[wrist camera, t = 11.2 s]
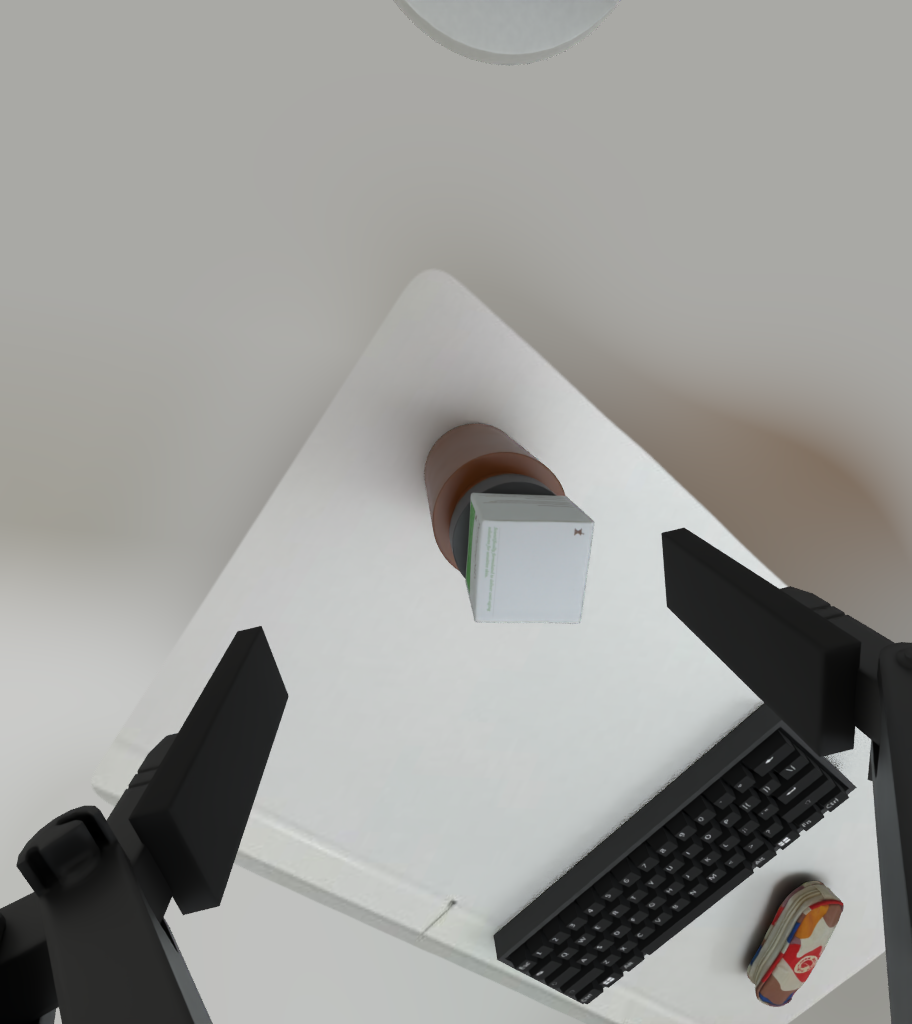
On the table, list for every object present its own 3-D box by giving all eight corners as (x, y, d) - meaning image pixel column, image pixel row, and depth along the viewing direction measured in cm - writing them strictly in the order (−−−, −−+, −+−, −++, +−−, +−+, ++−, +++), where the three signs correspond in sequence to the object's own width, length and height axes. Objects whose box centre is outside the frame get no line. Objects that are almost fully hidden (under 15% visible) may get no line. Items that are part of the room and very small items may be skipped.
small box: (468, 490, 28) (481, 518, 23) (568, 492, 28) (600, 521, 24) (461, 583, 29) (472, 627, 25) (556, 584, 30) (584, 626, 25)
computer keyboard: (576, 979, 69) (586, 1015, 65) (493, 935, 64) (499, 971, 60) (837, 769, 61) (865, 796, 58) (764, 703, 57) (789, 727, 53)
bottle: (414, 434, 43) (422, 483, 27) (515, 414, 44) (581, 451, 28) (434, 529, 46) (452, 625, 30) (529, 510, 47) (596, 594, 31)
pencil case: (850, 883, 68) (883, 923, 63) (771, 978, 73) (796, 1021, 68) (787, 867, 66) (817, 907, 61) (710, 966, 71) (732, 1010, 66)
